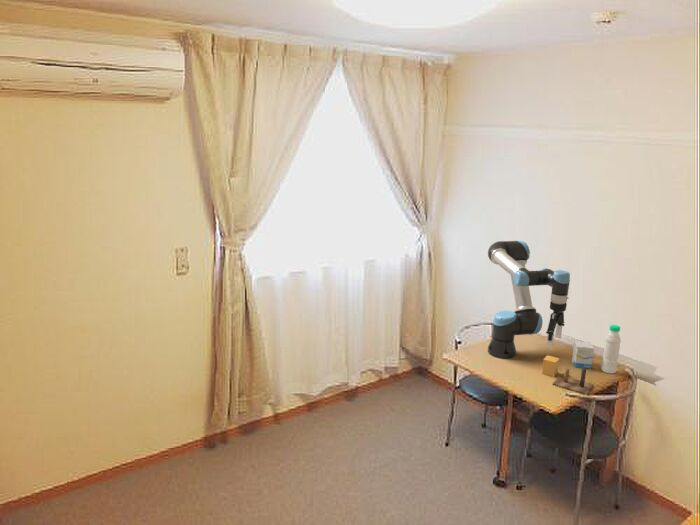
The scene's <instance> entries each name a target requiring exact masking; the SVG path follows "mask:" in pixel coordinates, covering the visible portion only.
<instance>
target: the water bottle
mask: <svg viewBox="0 0 700 525" xmlns="http://www.w3.org/2000/svg"><path fill="white" fill-rule="evenodd" d="M620 331H621V326H619V325H616V324H611V325H610V326H609V332H608V333H607V335H606V336H605V342H604V348H603V356H602V359H601V360H602V361H601V366H600V369H601V371H602V372H603V373H605V374H616V372H617V367H618V366H617V365H618V358H619V354H620V348H621V342H622V339H621V336H620V334H619V333H620Z"/></svg>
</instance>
